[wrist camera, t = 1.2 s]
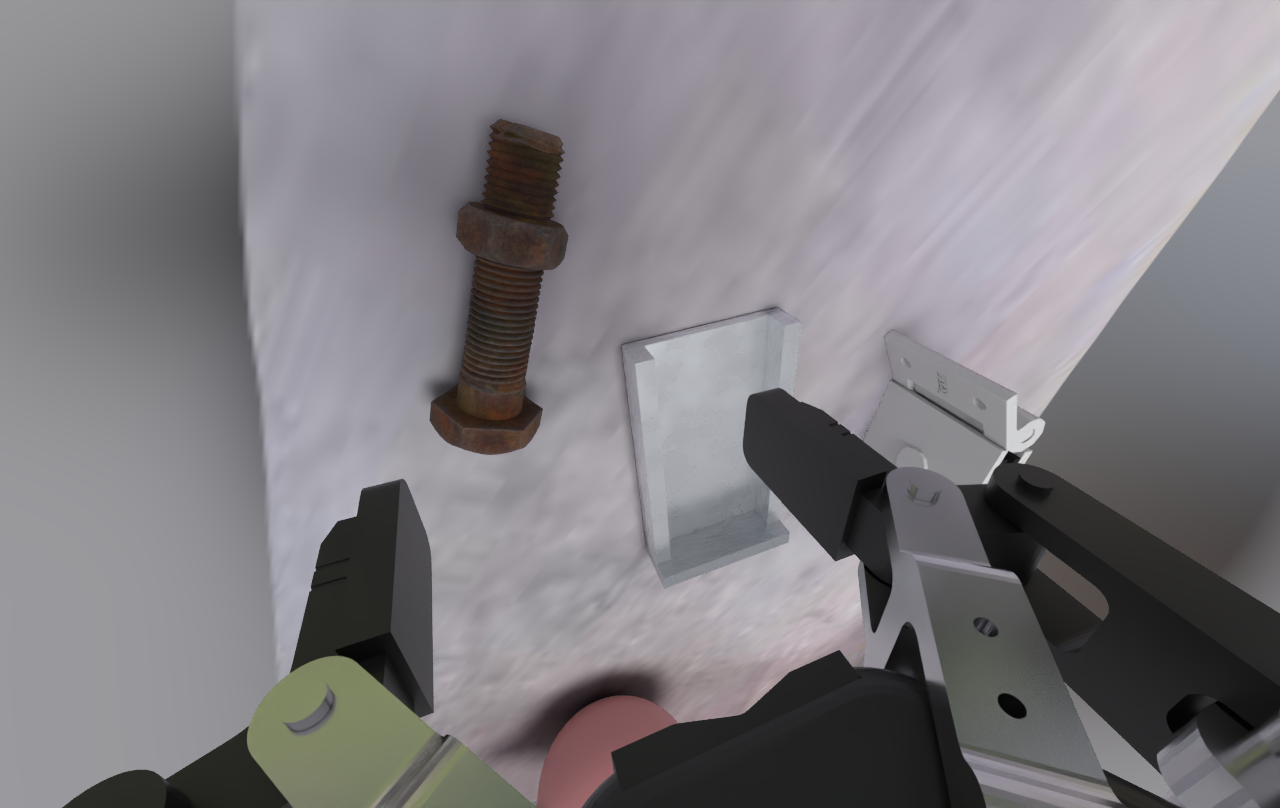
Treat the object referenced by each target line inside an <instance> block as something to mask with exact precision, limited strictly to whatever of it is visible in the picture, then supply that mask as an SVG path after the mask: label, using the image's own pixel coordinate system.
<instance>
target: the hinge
mask: <svg viewBox="0 0 1280 808" xmlns="http://www.w3.org/2000/svg"><path fill="white" fill-rule="evenodd" d="M884 338H885V342H886V347H887V352H888V357H889V361H890V366H891V371H892V376H893V380H894V381H890V382H889V384H888V386H887V389H886V391H885V393H884V395H883V398H882V400H881V402H880V404H879V407H878V409H877V411H876V413H875V416H874V418H873V420H872V422H871V425H870V427H869V429H868V431H867V434H866V436H865V438H864V440H863V442H865V443H866V444H867V445H869V446H870V447H871V448H873V449H874V450H875V451H877V452H878V453H879V454H881V455H882V456H883V457H884V458H886V459H887V460H888V461H890V462H891V463H892V464H894V465H895V466H896V467H898V468H901V467H918V468H924V469H927V470H931V471H933V472H936V473H938V474H940V475H943V476H944V477H946V478H948V479H949V480H951V481H952V482H953V483H954V484H955V485H971V484H988V482H989V479H990V477H991V475H992V473H993V471H994V469H995V468H996V467H997V466H999V465H1001V464H1006V463H1022V464H1024V463H1025V462H1026V460H1027V459H1028V457H1029V456H1030V454H1031V453H1032V450H1030V449H1028V447H1029V446H1031V445H1032V444H1033V443H1034V442H1035V441H1036V440H1037V438H1038V437H1039V436H1040V435H1041V434H1042V432H1043V429H1044V425H1045V421H1044V420H1042V419H1041V418H1039V417H1037V416H1035V415H1033V414H1031V413H1029V412H1027V411H1026V410H1024V409H1022V408H1020V407H1018V406H1017V393H1015V392H1013V391H1011V390H1009V389H1007V388H1005V387H1003V386H1001V385H999V384H997V383H996V382H994V381H992V380H990V379H988V378H986V377H984V376H982V375H980V374H978V373H976V372H974V371H972V370H970V369H968V368H966V367H964V366H962V365H960V364H958V363H956V362H955V361H953V360H951V359H949V358H947V357H945V356H943V355H941V354H939V353H937V352H935V351H933V350H931V349H929V348H927V347H925V346H923V345H921V344H919V343H917V342H915V341H914V340H912V339H910V338H908V337H906V336H904V335H902V334H900V333H898V332H896V331H894V330H891V331H890V332H889V333H887V334H886V335H884Z"/></svg>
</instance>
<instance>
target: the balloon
mask: <svg viewBox="0 0 1280 808" xmlns="http://www.w3.org/2000/svg"><path fill="white" fill-rule="evenodd" d="M673 724H678V722H677V721H676V720H675V719H674V718H673V717H672V716H671V715H670V714H669V713H668V712H667V711H665V710H664V709H663V708H661V707H660V706H658V705H656V704H655V703H653V702H651V701H648V700H646V699H643V698H640V697H635V696H627V695H619V696H611V697H606V698H603V699H600V700H597V701H595V702H593V703H591V704H589V705H587V706H586V707H584V708H583V709H581V710H580V711H579V712H577V713H576V714H575V715H574V716H573V717H572V718H571V719H570V720H569V721H568V722H567V723H566V724H565V726H564V727H563V728H562V729H561V731H560V732H559V734H558V735H557V737H556V738H555V740H554V742H553V743H552V745H551V747H550V750H549V752H548V754H547V757H546V759H545V762H544V765H543V769H542V773H541V777H540V782H539V789H538V803H537V805H536V807H537V808H581V807H582V806H583V805H584V803H585V802H586V800H587V799H588V798H589V797H590V796H591V795H592V793H593V792H594V791H595V790H596V789H597V788H598V787H599V786H600V784H602V783H603V782H604V781H605V780H606V779H607V778H608V777H609V776H611V775H612V774H613V773H614V771H613V764H612V757H611V752H612V751H615V750H617V749H619V748H621V747H623V746H626V745H628V744H630V743H632V742H635V741H637V740H639V739H641V738H644V737H646V736H648V735H650V734H653V733H655V732H657V731H659V730H662V729H664V728H666V727H668V726H670V725H673Z"/></svg>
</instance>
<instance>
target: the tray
mask: <svg viewBox="0 0 1280 808" xmlns="http://www.w3.org/2000/svg"><path fill="white" fill-rule="evenodd" d="M801 323H802V322H801V321H800V320H798V319H797V318H795V317H793V316H792V315H790V314H788V313H787V312H785V311H784V310H782V309H780V308H779V307H777V308H772V309H768V310H764V311H760V312H756V313H752V314H748V315H744V316H739V317H735V318H731V319H727V320H723V321H719V322H715V323H710V324H706V325H702V326H698V327H694V328H690V329H686V330H682V331H677V332H673V333H669V334H665V335H661V336H657V337H653V338H648V339H644V340H640V341H636V342H632V343H628V344H624V345H621V347H622V355H623V363H624V371H625V379H626V387H627V396H628V404H629V412H630V420H631V428H632V436H633V444H634V452H635V460H636V469H637V477H638V485H639V493H640V501H641V509H642V517H643V525H644V534H645V542H646V550H647V552H648V554H649V556H650V558H651V561H652V563H653V565H654V567H655V569H656V571H657V574H658V576H659V578H660V580H661V582H662V584H663V587H664V588H667V587H670V586H672V585H675V584H678V583H680V582H683V581H686V580H688V579H691V578H694V577H696V576H699V575H702V574H704V573H707V572H710V571H712V570H715V569H718V568H721V567H723V566H726V565H729V564H731V563H734V562H737V561H739V560H742V559H745V558H747V557H750V556H753V555H755V554H758V553H761V552H763V551H766V550H769V549H771V548H774V547H777V546H779V545H782V544H785V543H788V540H789V531H788V530H787V529H786V528H785V526H784V525H783V524H782V523H781V521H780V513H781V504H782V502H781V501H780V500H779V499H778V497H777V496H776V495H775V494H774V493H773V492H772V491H771V490H770V489H769V488H768V486H767V485H766V484H765V483H764V482H763V481H762V480H761V479H760V478H759V476H758V475H757V474H756V473H755V472H754V471H753V470H752V469H751V468H750V466H749V465H748V463H747V461H746V459H745V456H744V452H743V435H744V425H745V415H746V405H747V400H748V397H749V396H750V395H751V394H754V393H758V392H763V391H767V390H771V389H775V388H781V389H783V390H785V391H786V392H787V393H789V394H790V395H791V396H792V397H793V395H794V386H795V377H796V368H797V359H798V350H799V341H800V332H801Z"/></svg>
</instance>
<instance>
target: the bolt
mask: <svg viewBox="0 0 1280 808" xmlns="http://www.w3.org/2000/svg"><path fill="white" fill-rule="evenodd" d="M490 127H491V128H492V129H493V131H494V132H493V133H491V134H489V136H490V137H491V138H492V140H493V141H492V142H489V145H490V146H491V148H492V150H490V151H487V152H488V154H489V155H490V156H491V159H488V160H487V162H488V163H489V165H490V167H488V168H486V170H487V172H488V173H489V175H487V176H485V179H486V180H487V182H488V183H487V184H485V185H484V187H485V188H486V190H487V191H486V192H484V193H482V194H483V195H484V196H485V198H486V199H485V200H483V201H482V203H478V202H471V203H469V204H467V205H466V206H465V207H464V208H462V209H461V210H460V211H459V213H458V223H457V234H456V237H457V238H458V240H459V241H460V242H461V244H462V245H463V246H464V248H465V249H466V250H467V251H469V252H471V253H473V254H475V255H476V257H477V258H478V259H477V260H476V261H474V263H475V264H476V265H477V267H475V268H474V271H475V272H476V274H474V275H473V278H474V279H475V281H473V282H472V285H473V286H474V288H473V289H471V292H472V293H473V295H471V300H472V301H471V302H470V306H471V308H469V313H470V314H469V315H468V318H469V321H468V322H467V324H468V326H469V327H467V332H468V333H467V334H466V338H467V339H466V341H465V344H466V346H465V348H464V350H465V352H464V359H463V363H464V364H463V366H462V371H461V372H460V376H459V384H457V385H456V386H454V387H453V388H451V389H450V390H448V391H447V392H445V393H444V394H442V395H441V396H439V397H438V398H436V399H435V400H433V401H432V402H431V411H430V422H431V423H432V425H433V427H434V428H435V430H436V431H437V432H438V434H439V435H440V436H441V437H442V438H443V439H444V440H445V441H446V442H447V443H449V444H451V445H453V446H456V447H459V448H461V449H464V450H468V451H472V452H476V453H480V454H487V455H497V454H503V453H508V452H512V451H515V450H518V449H522V448H524V447H525V446H526V445H527V444H528V443H529V442H530V441H531V440H532V438H533V437H534V435H535V433H536V431H537V429H538V427H539V425H540V421H541V416H542V411H543V409H542V408H541V407H539V406H538V405H536V404H535V403H534V402H532V401H531V400H529V399H528V398H526V397H525V396H524V393H525V387H526V381H525V376H526V370H527V364H528V358H529V353H530V346H531V344H532V343H531V340H532V339H533V335H532V334H533V333H534V329H533V328H534V326H535V323H534V322H535V319H536V317H535V316H536V314H537V311H536V309H537V308H538V304H537V303H538V302H539V298H538V296H539V295H540V291H539V289H540V288H541V284H540V282H542V278H541V276H542V275H543V274H544V272H543V270H552V269H555V268H556V267H557V266H558V265H559V264H560V263H561V262H562V260H563V259H564V256H565V251H566V246H567V240H568V234H567V232H566V230H565V229H564V227H563V226H562V225H561V224H559V223H557V222H555V221H552V220H550V218H551V217H553V216H554V215H553V214H552V212H551V211H552V210H553V209H555V207H554V206H553V204H552V203H554V202H555V201H557V200H556V199H555V198H554V197H553V196H554V195H555V194H557V193H558V192H557V191H556V190H555V189H554V188H555V187H557V186H558V185H559V184H558V183H557V181H556V180H557V179H558V178H560V175H559V174H558V173H557V172H558V171H559V170H561V169H562V168H561V167H560V165H559V163H561V162H562V161H563V159H562V158H561V157H560V155H562V154H564V153H565V152H564V151H563V149H562V148H561V147H562V145H563V143H562V141H561V139H560V138H559V137H557V136H554V135H551V134H548V133H545V132H542V131H539V130H536V129H533V128H530V127H527V126H524V125H520V124H517V123H511V122H508V121H505V120H502V119H499V120H498V121H497V122H496V123H495V124H493V125H491V126H490Z"/></svg>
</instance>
